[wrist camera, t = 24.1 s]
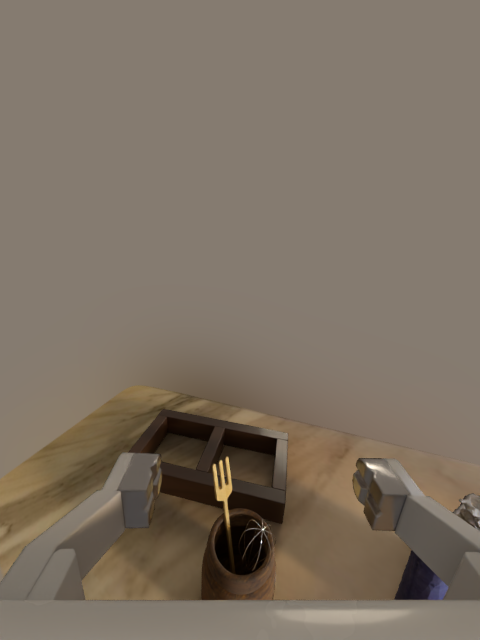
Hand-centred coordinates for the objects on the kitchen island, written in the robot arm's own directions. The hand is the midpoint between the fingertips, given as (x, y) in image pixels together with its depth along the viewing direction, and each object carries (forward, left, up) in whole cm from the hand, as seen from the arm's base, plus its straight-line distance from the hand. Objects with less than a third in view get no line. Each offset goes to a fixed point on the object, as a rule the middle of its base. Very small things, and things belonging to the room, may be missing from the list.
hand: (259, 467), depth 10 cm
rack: (+17, +7, -20) cm, 27 cm away
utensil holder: (+5, +1, -20) cm, 21 cm away
